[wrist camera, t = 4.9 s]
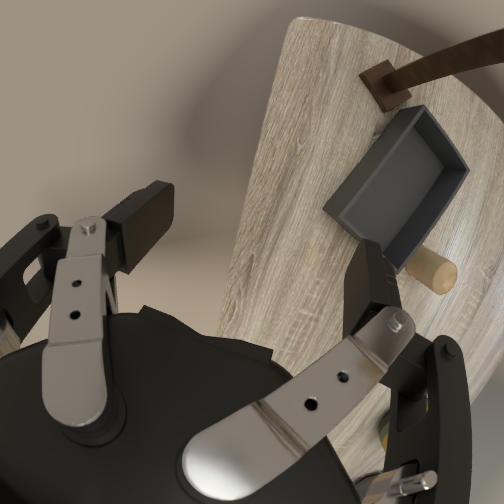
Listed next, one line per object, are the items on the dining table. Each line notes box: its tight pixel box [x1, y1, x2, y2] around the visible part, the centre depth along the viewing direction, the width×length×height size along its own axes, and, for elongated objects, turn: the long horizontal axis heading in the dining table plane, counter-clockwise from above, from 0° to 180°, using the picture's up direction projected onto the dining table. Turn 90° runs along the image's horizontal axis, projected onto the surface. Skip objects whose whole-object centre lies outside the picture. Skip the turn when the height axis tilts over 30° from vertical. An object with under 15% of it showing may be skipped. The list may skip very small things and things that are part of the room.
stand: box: [359, 28, 504, 113], centre depth 19 cm, size 7×7×32 cm
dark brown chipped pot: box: [355, 475, 378, 501], centre depth 63 cm, size 18×18×15 cm
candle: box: [405, 246, 457, 295], centre depth 39 cm, size 6×6×10 cm
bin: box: [322, 105, 470, 275], centre depth 36 cm, size 13×21×7 cm, turn 141°
